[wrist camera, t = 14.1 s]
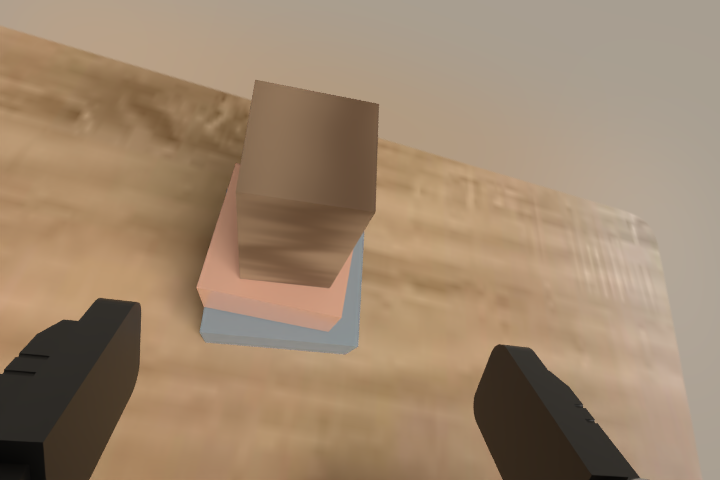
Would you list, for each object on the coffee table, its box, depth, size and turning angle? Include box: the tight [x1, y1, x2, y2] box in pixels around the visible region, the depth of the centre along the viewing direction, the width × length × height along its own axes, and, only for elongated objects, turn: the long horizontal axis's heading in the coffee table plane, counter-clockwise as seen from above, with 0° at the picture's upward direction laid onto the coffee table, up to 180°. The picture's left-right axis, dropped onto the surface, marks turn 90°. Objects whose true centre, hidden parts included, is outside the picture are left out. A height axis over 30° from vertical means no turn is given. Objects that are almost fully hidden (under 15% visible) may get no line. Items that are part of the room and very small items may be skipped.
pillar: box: [236, 80, 379, 288], centre depth 21 cm, size 5×5×10 cm
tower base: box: [200, 190, 364, 354], centre depth 32 cm, size 10×10×4 cm
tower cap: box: [196, 163, 353, 332], centre depth 28 cm, size 8×8×4 cm
